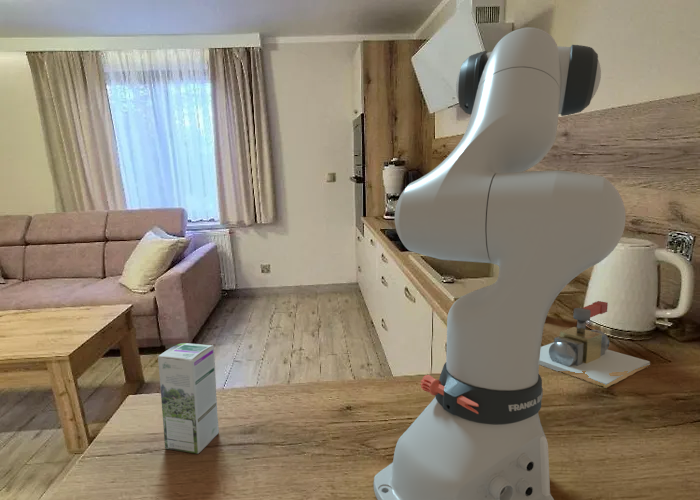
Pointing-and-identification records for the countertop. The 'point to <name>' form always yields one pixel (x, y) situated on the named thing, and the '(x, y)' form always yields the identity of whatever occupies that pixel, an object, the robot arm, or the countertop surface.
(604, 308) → the lever
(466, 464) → the robot arm
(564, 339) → the valve
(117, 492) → the countertop surface
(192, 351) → the syrup box
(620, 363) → the mounting board
